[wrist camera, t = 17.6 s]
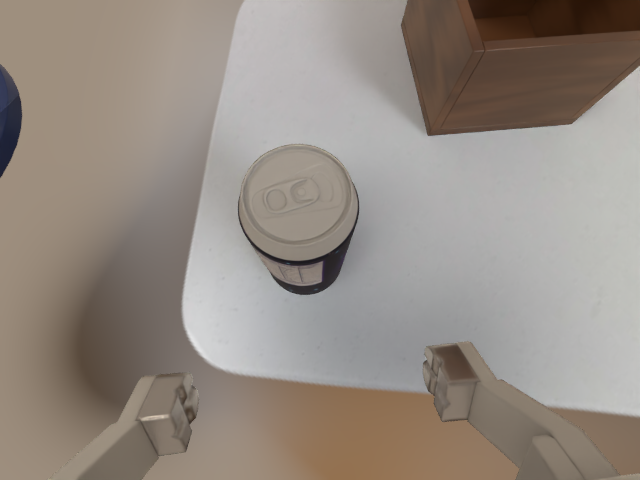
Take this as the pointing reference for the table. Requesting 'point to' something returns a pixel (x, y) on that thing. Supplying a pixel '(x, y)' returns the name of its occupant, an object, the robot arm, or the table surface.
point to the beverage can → (299, 215)
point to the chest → (517, 59)
